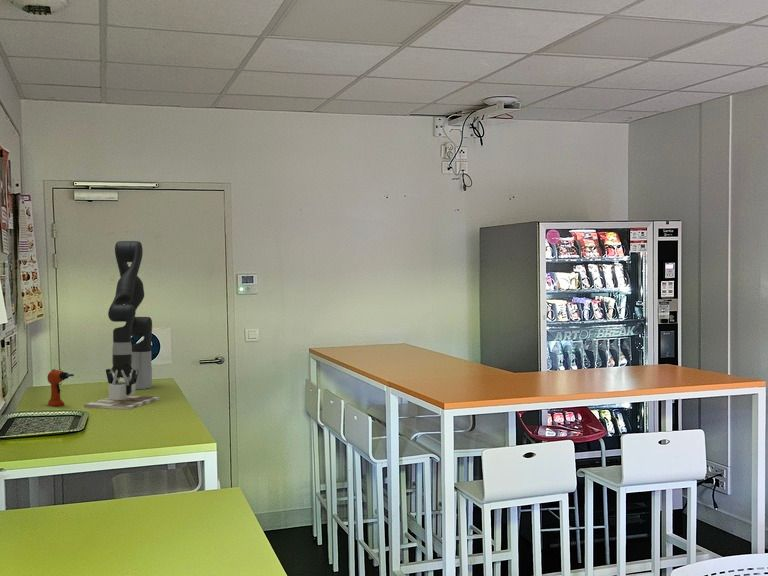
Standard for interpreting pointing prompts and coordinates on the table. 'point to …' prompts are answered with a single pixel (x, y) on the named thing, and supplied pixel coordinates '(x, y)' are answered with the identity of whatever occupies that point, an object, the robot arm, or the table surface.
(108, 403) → the subfloor panel
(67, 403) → the table surface
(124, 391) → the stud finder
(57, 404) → the toy drill
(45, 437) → the table surface
